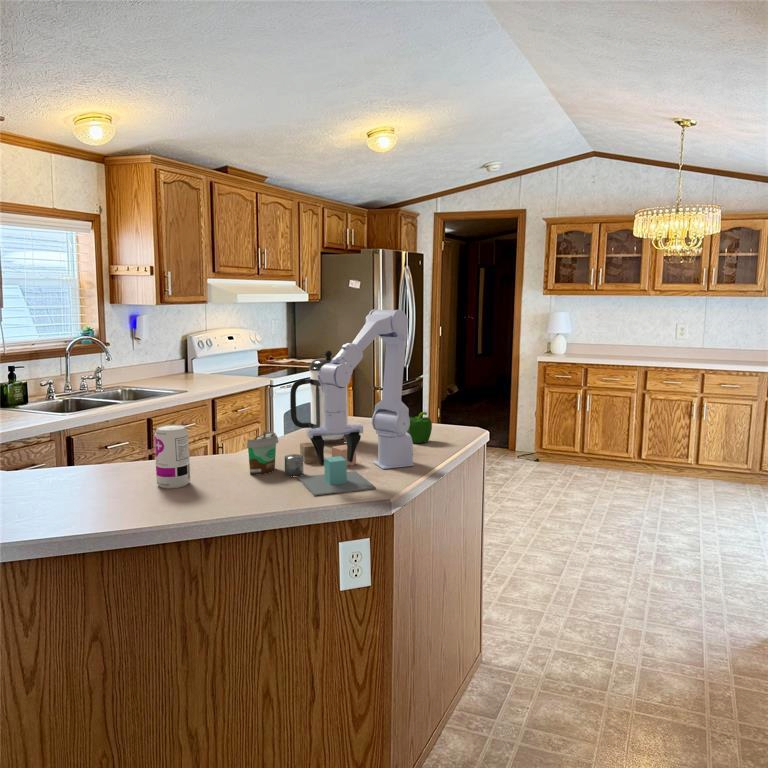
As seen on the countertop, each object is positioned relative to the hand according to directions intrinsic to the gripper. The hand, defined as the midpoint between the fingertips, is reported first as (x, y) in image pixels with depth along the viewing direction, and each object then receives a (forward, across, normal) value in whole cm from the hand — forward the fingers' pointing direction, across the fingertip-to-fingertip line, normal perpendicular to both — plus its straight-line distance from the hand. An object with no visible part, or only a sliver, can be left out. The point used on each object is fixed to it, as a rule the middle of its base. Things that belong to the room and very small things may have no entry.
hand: (335, 462), depth 172 cm
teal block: (+5, 0, 0) cm, 5 cm away
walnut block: (+6, 0, -25) cm, 26 cm away
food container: (+6, +14, -19) cm, 24 cm away
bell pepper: (+6, -40, -34) cm, 53 cm away
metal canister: (+6, +8, -13) cm, 16 cm away
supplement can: (+6, +39, -16) cm, 42 cm away
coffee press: (+6, -12, -47) cm, 49 cm away
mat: (+6, 0, 0) cm, 6 cm away
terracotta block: (+6, -8, -18) cm, 20 cm away
